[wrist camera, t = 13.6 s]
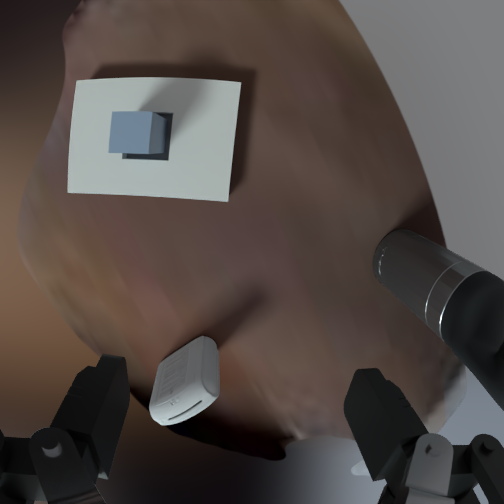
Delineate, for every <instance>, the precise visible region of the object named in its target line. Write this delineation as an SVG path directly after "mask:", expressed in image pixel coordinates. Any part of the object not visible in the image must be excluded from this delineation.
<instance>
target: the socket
mask: <svg viewBox="0 0 504 504" xmlns="http://www.w3.org/2000/svg"><path fill="white" fill-rule="evenodd" d="M240 88H241V82H232V81H221V80H208V79H192V78H162V77H137V78H107V79H92V80H79V81H77V83H76V90H75V97H74V104H73V113H72V122H71V133H70V146H69V163H68V193H92V194H117V195H137V196H155V197H171V198H186V199H200V200H213V201H225V202H228V196H229V186H230V176H231V167H232V157H233V148H234V139H235V130H236V122H237V113H238V105H239V96H240ZM117 111H146V112H154V113H156V114H158V115H159V116H161V117H163V118H165V119H166V120H168V122H167V132H166V142H165V152H164V153H156V154H132V153H108V151H109V138H110V128H111V118H112V112H117Z"/></svg>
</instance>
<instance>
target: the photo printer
mask: <svg viewBox="0 0 504 504" xmlns="http://www.w3.org/2000/svg"><path fill="white" fill-rule="evenodd" d="M218 396H219V351H218V350H217V345H216V343H215V342H214V340H212V339H211V338H209V337H204V336H201V337H199V338H196V339H195V340H193V341H191V342H190V343H188V344H187V345H185V346H184V347H182V348H181V349H179V350H177V351H176V352H174V353H173V354H171V355H170V356H168V357H167V358H166V359H164V360H163V361H162V362H161V363H160V364H159V366H158V370H157V375H156V379H155V383H154V388H153V392H152V397H151V401H150V406H149V409H150V414H151V416H152V418H153V419H154V420H155V421H157V422H158V423H159V424H160V425H171V424H175V423H178V422H181V421H184V420H186V419H188V418H190V417H192V416H194V415H196V414H197V413H199V412H201V411H202V410H204V409H205V408H206V407H208V406H209V405H210V404H211V403H212V402H214V400H215V399H216V398H217V397H218Z"/></svg>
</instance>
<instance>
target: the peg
mask: <svg viewBox="0 0 504 504" xmlns="http://www.w3.org/2000/svg"><path fill="white" fill-rule="evenodd" d="M167 122H168V120H166V119H165V118H163V117H161V116H159V115H158V114H156V113H154V112H146V111H117V112H112V118H111V128H110V138H109V151H108V153H132V154H156V153H164V152H165V142H166V132H167Z"/></svg>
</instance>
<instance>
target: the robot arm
mask: <svg viewBox="0 0 504 504" xmlns="http://www.w3.org/2000/svg"><path fill="white" fill-rule="evenodd" d="M373 268H374V273H375V275H376V277H377V279H378V280H379V281H380V282H381V283H382V284H383V285H384V286H385V287H386V288H387V289H388V290H389V291H391V292H392V293H393V294H394V295H395V296H396V297H397V298H398V299H399V300H400V301H401V302H402V303H404V304H405V305H406V306H407V307H408V308H409V309H410V310H411V311H412V312H413V313H414V314H415V315H417V316H418V317H419V318H420V319H421V320H422V321H423V322H424V323H425V324H426V325H427V326H428V327H429V328H430V329H432V330H433V331H434V332H435V333H436V334H437V335H438V336H439V337H440V338H441V339H442V340H443V341H444V342H445V343H446V344H447V345H448V346H449V347H450V348H451V349H452V351H453V352H454V353H455V355H456V356H457V357H458V358H459V359H460V360H461V361H462V362H463V363H464V364H465V365H466V366H467V367H468V368H469V370H470V371H471V372H472V373H473V374H474V375H475V376H476V378H477V379H478V380H479V382H480V383H481V384H482V385H483V387H484V388H485V389H486V390H487V392H488V393H489V394H490V395H491V397H492V398H493V399H494V400H495V401H496V403H497V404H498V405H499V406H500V407H501V408H502V410H503V411H504V281H503V280H502V279H500V278H499V277H497V276H495V275H494V274H492V273H490V272H488V271H487V270H485V269H483V268H481V267H480V266H478V265H476V264H474V263H473V262H470V261H469V260H467V259H465V258H463V257H461V256H459V255H458V254H456V253H454V252H452V251H450V250H448V249H446V248H444V247H442V246H441V245H439V244H437V243H435V242H433V241H431V240H429V239H427V238H425V237H423V236H421V235H419V234H417V233H415V232H413V231H411V230H408V229H398V230H396V231H393V232H391V233H390V234H388V235H387V236H386V237H385V238H384V239H383V240H382V241H381V243H380V244H379V246H378V247H377V249H376V252H375V255H374V261H373ZM129 401H130V389H129V382H128V374H127V366H126V360H125V358H124V357H120V356H113V355H107V354H103V355H102V356H101V358H100V360H99V362H98V364H97V366H96V367H92V366H87V367H86V368H85V369H84V370H82V371H81V372H79V373H78V374H77V376H76V377H75V379H74V381H73V383H72V386H71V387H70V388H69V390H68V392H67V395H66V396H65V398H64V400H63V402H62V404H61V405H60V408H59V409H58V411H57V413H56V415H55V417H54V419H53V421H52V423H51V425H50V427H46V428H42V429H40V430H38V431H36V432H35V433H34V434H33V435H32V436H31V437H30V438H16V437H5V436H4V435H3V433H2V432H1V430H0V504H34V501H35V500H36V501H47V502H48V504H106V503H105V501H104V499H103V498H102V496H101V494H99V491H98V490H97V488H96V486H95V485H96V481H97V478H98V477H100V478H104V479H108V478H109V474H110V470H111V466H112V463H113V458H114V455H115V452H116V448H117V444H118V441H119V437H120V434H121V431H122V427H123V424H124V420H125V417H126V413H127V410H128V407H129ZM344 414H345V417H346V419H347V421H348V424H349V426H350V428H351V431H352V433H353V435H354V438H355V440H356V442H357V444H358V447H359V449H360V451H361V454H362V456H363V459H364V461H365V464H366V466H367V468H368V471H369V473H370V475H371V478H372V480H373V481H377V480H382V479H385V480H386V482H387V484H386V485H385V487H384V489H383V491H382V494H381V496H380V499H379V501H378V504H480V502H479V500H478V498H477V496H476V494H475V493H474V490H473V488H474V487H475V486H476V485H477V484H478V483H479V485H480V487H481V488H482V490H483V492H484V494H485V496H486V497H487V499H488V502H489V504H504V448H503V447H502V445H501V444H500V442H499V441H498V440H497V439H496V438H494V437H493V436H491V435H487V434H480V435H477V436H475V437H474V439H473V440H472V441H471V443H470V444H469V445H451V443H450V442H449V441H448V440H447V439H446V438H445V437H443V436H441V435H438V434H434V433H429V432H428V431H427V429H426V427H425V426H424V424H423V423H422V421H421V420H420V418H419V417H418V415H417V414H416V412H415V411H414V409H413V408H412V407H411V405H410V403H409V402H408V400H407V399H406V397H405V396H404V394H403V393H402V391H401V390H400V388H399V387H397V386H396V385H395V384H394V383H392V382H391V381H390V380H386V379H385V378H384V376H383V375H382V373H381V372H380V370H379V369H378V368H368V369H358V370H356V372H355V373H354V376H353V379H352V382H351V384H350V387H349V390H348V392H347V395H346V398H345V401H344Z"/></svg>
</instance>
